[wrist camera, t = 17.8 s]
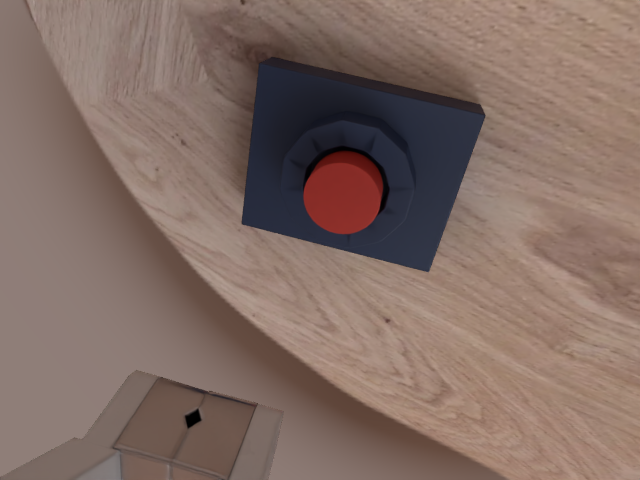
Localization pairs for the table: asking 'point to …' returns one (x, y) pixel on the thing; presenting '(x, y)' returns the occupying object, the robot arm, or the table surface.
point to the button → (343, 192)
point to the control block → (364, 138)
